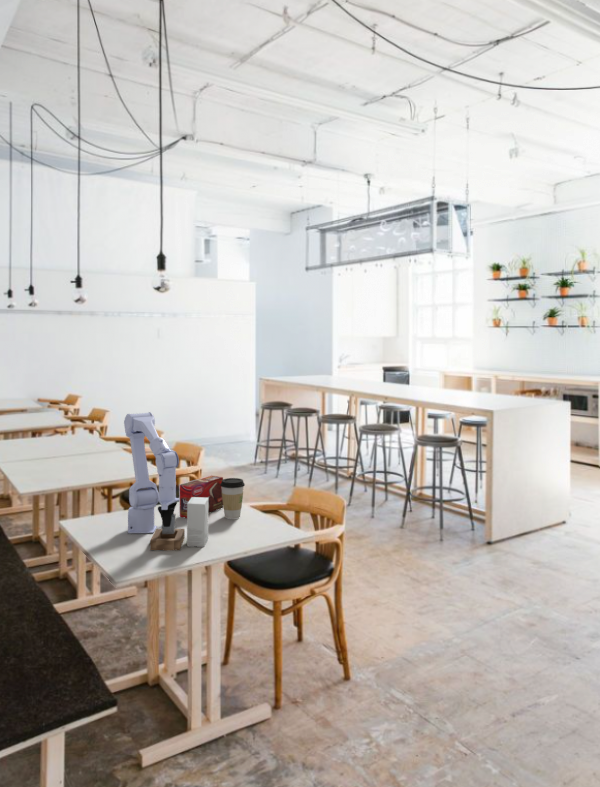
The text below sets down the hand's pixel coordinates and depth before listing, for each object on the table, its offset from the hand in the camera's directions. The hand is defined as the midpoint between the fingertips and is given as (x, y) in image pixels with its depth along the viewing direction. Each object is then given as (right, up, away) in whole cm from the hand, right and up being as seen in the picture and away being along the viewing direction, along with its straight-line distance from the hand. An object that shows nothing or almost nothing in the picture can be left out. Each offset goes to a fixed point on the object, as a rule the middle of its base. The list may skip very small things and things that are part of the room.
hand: (167, 524), depth 222 cm
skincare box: (+10, -7, +2) cm, 13 cm away
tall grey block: (0, -3, 0) cm, 3 cm away
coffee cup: (+19, -4, +35) cm, 40 cm away
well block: (0, -7, +1) cm, 7 cm away
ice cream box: (+6, -4, +41) cm, 41 cm away
